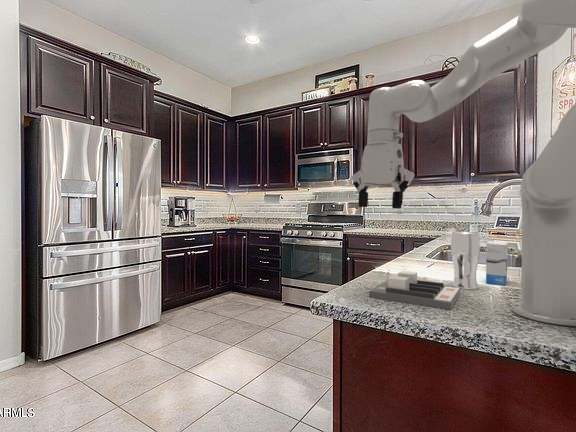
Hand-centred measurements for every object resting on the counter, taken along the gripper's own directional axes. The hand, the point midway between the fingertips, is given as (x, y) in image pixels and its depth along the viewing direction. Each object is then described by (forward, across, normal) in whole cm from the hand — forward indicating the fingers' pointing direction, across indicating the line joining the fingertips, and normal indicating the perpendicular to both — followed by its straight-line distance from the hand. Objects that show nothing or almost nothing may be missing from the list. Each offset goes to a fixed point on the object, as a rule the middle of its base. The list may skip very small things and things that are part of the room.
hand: (379, 207), depth 81 cm
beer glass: (+21, -13, -24) cm, 35 cm away
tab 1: (+20, -6, -1) cm, 21 cm away
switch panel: (+22, -8, -5) cm, 24 cm away
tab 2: (+20, -4, -9) cm, 22 cm away
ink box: (+21, -17, -37) cm, 46 cm away
